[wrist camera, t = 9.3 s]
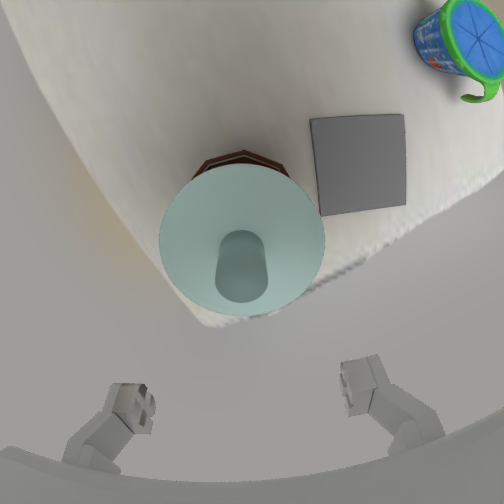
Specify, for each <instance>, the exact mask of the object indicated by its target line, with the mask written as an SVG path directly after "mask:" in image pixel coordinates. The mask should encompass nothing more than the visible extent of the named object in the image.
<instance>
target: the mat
mask: <svg viewBox="0 0 504 504" xmlns="http://www.w3.org/2000/svg"><path fill="white" fill-rule="evenodd" d="M310 126H311V133H312V141H313V149H314V158H315V167H316V177H317V187H318V197H319V209H320V215H321V217H322V216H329V215H336V214H343V213H350V212H357V211H364V210H371V209H379V208H386V207H394V206H401V205H406V143H405V125H404V115H401V114H394V115H363V116H345V117H332V118H320V119H310Z"/></svg>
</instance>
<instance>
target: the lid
mask: <svg viewBox="0 0 504 504" xmlns="http://www.w3.org/2000/svg"><path fill="white" fill-rule="evenodd" d="M159 247H160V255H161V259H162V263H163V265H164V268H165V270H166V272H167V274H168V276H169V277H170V279H171V281H172V282H173V283H174V285H175V286H176V287H177V288H178V289H179V290H180V291H181V292H182V293H183V294H184V295H185V296H186V297H187V298H189V299H190V300H191V301H193V302H194V303H196V304H198V305H199V306H202V307H204V308H206V309H208V310H211V311H214V312H217V313H221V314H225V315H232V316H252V315H259V314H264V313H267V312H271V311H274V310H276V309H278V308H281V307H283V306H285V305H286V304H288V303H290V302H291V301H293V300H294V299H296V298H297V297H298V296H299V295H300V294H302V293H303V292H304V291H305V290H306V289H307V287H308V286H309V285H310V284H311V282H312V281H313V279H314V278H315V276H316V275H317V272H318V270H319V268H320V266H321V263H322V259H323V255H324V249H325V235H324V228H323V225H322V221H321V218H320V216H319V213H318V211H317V209H316V207H315V206H314V204H313V203H312V201H311V200H310V198H309V197H308V195H307V194H306V193H305V192H304V190H303V189H302V188H301V187H300V186H299V185H298V184H296V183H295V182H294V181H293V180H292V179H290V178H289V177H287V176H285V175H284V174H282V173H280V172H278V171H275V170H273V169H270V168H267V167H264V166H260V165H254V164H230V165H224V166H220V167H216V168H213V169H211V170H208V171H206V172H204V173H202V174H200V175H199V176H197V177H195V178H194V179H193V180H191V181H190V182H189V183H187V184H186V185H185V186H184V187H183V188H182V189H181V190H180V191H179V193H178V194H177V195H176V197H175V198H174V200H173V201H172V202H171V204H170V205H169V207H168V209H167V211H166V213H165V215H164V218H163V221H162V224H161V229H160V234H159Z"/></svg>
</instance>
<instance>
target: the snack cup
mask: <svg viewBox="0 0 504 504" xmlns="http://www.w3.org/2000/svg"><path fill="white" fill-rule="evenodd" d="M414 39H415V43H416V44H415V45H416V47H417V49H418V51H419V53H420V55H421V57H422V59H423V60H424V61H425V62H426V63H427V64H429V65H430V66H432V67H433V68H435V69H437V70H440V71H443V72H449V73H454V74H457V75H462V76H467V77H470V78H472V79H474V80H476V81H478V82H480V83H481V84H482V85H483V86H484V89H485V91H484V96H474V95H470V94H466V95H463V96H461V99H462V100H463V101H466V102H470V103H481V102H486V101H489V100H491V99H492V98H493V97H495V95H496V94H497V92H498V90H499V85H500V82H501V81H502V80H503V79H504V27H503V25H502V24H501V22H500V20H499V19H498V17H497V16H496V15H495V14H494V12H493V11H492V10H491V9H490V8H489V7H488V6H486V5H485V4H484V3H483V2H481V1H480V0H447V2H446V3H445V4H444V5H443V7H441V8H439V9H438V10H436V11H435V12H434V13H432V14H431V15H429V16H428V17H426V18H425V19H423V20H422V21H421V22H420V23H419V24H418V26H417V28H416V30H415V32H414Z"/></svg>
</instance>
